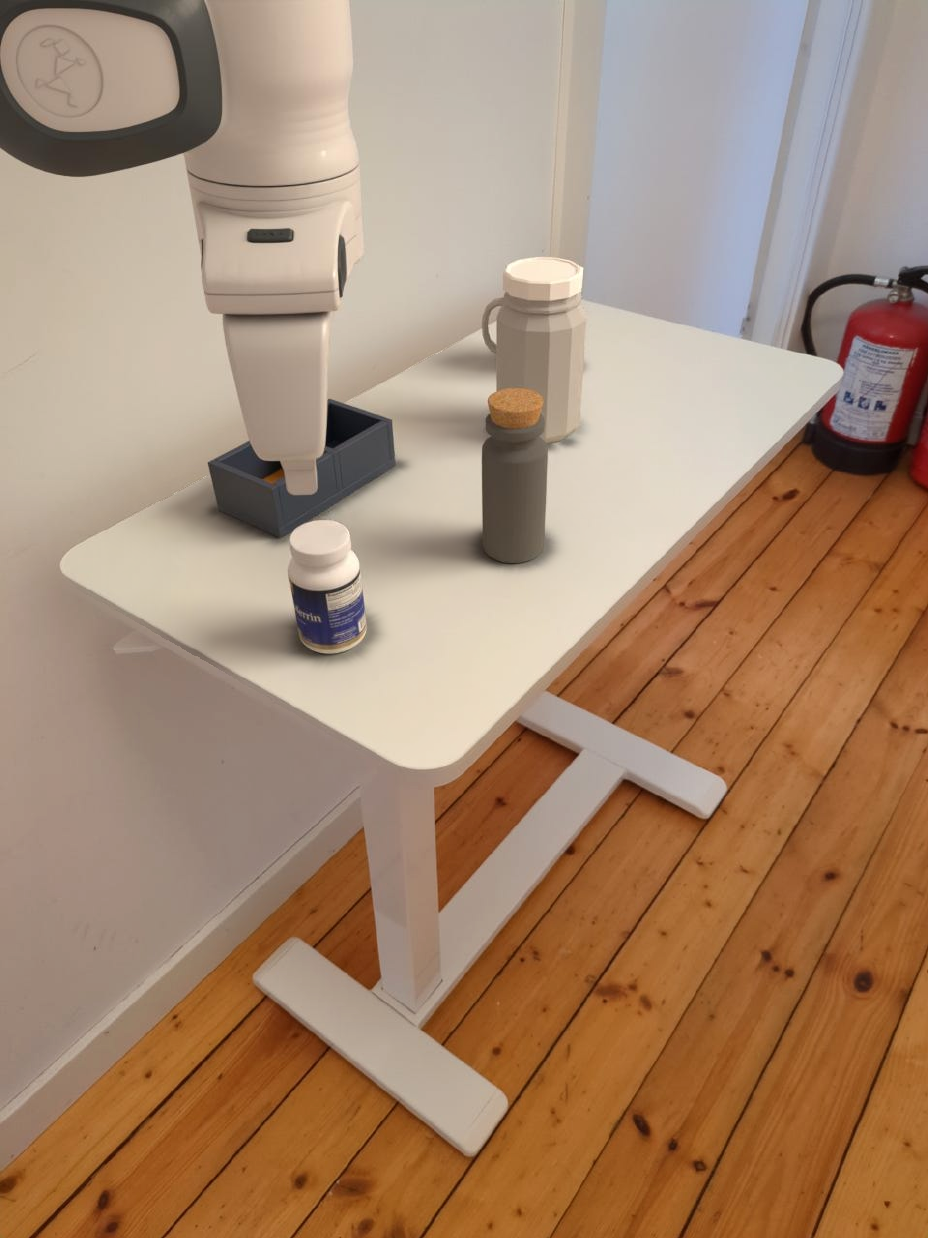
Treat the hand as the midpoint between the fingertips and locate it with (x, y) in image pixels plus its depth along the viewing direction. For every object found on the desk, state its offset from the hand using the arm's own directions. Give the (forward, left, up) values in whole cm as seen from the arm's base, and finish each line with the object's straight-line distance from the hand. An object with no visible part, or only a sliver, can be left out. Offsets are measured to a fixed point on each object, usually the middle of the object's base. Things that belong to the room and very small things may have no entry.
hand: (306, 448), depth 57 cm
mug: (+31, +57, -21) cm, 68 cm away
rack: (0, +32, -21) cm, 38 cm away
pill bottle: (0, +7, -21) cm, 22 cm away
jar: (+27, +39, -21) cm, 52 cm away
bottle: (+18, +16, -21) cm, 32 cm away
